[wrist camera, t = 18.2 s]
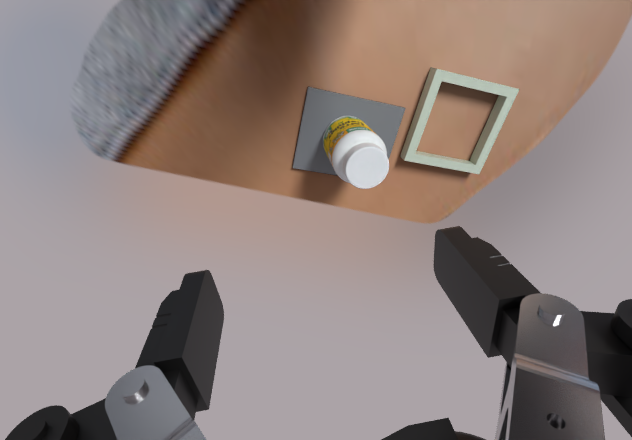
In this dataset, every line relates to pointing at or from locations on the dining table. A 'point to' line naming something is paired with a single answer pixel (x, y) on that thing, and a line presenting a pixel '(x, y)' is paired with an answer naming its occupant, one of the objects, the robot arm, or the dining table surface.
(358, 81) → the dining table surface
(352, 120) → the supplement bottle
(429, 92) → the pale green square frame
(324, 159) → the mat
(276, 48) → the dining table surface
